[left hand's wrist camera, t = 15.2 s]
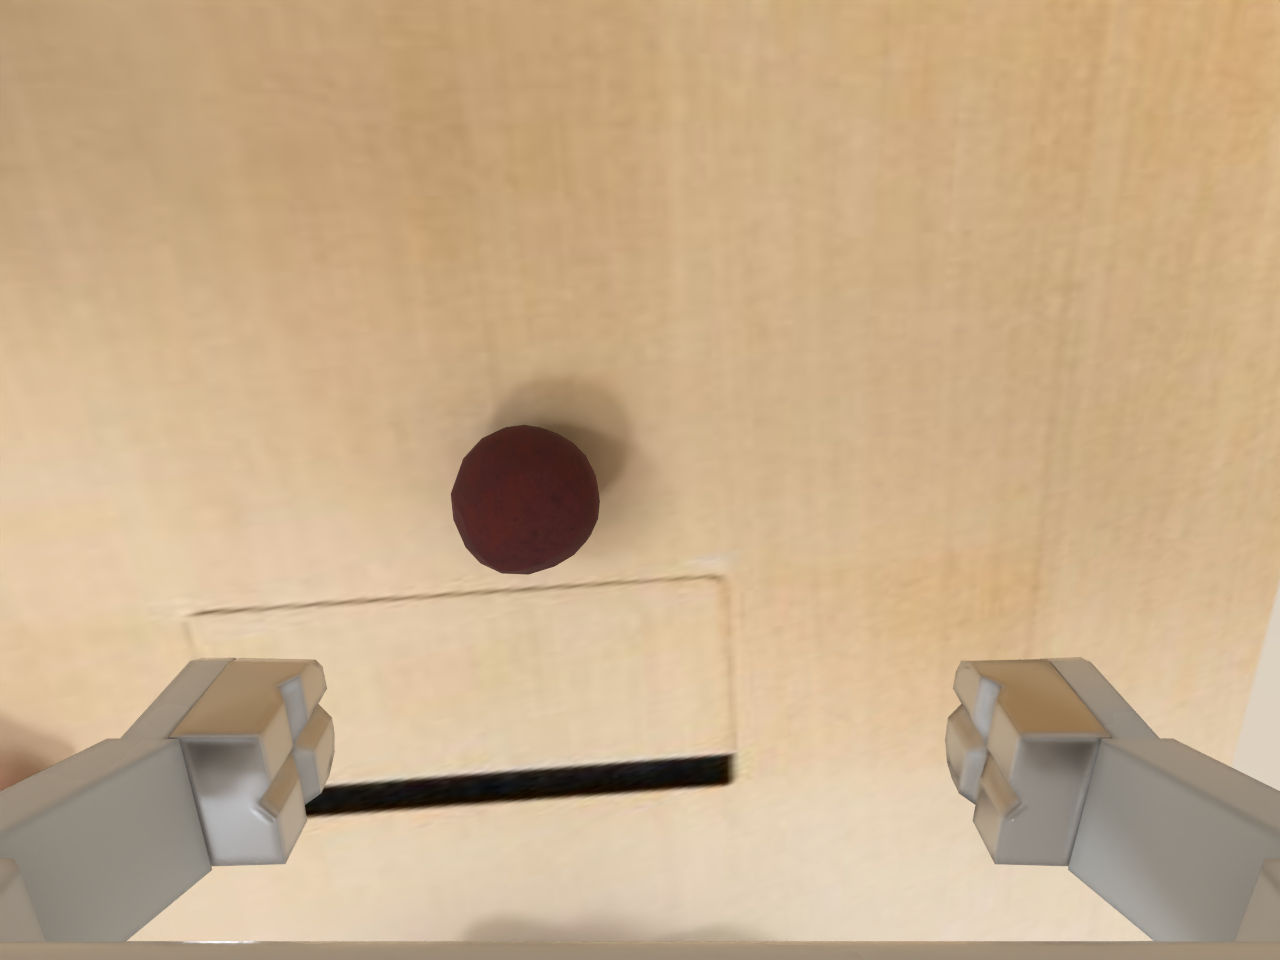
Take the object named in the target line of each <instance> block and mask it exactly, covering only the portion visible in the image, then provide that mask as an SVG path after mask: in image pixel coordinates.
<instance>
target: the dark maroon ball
mask: <svg viewBox="0 0 1280 960" xmlns="http://www.w3.org/2000/svg"><path fill="white" fill-rule="evenodd" d="M451 500H452V509H453V519H454V522H455V524H456V526H457V529H458V531H459V533H460V535H461V538H462V540H463V542H464V544H465V547H466V548H467V549H468V550H469V551H470V553H471V554H472V555H473V556H474V557H475V558H476V559H477V560H478V561H479V562H480V563H481V564H483V565H485V566H487V567H490V568H492V569H494V570H496V571H498V572H500V573H506V574H532V573H535V572H538V571H541V570H544V569H548V568H551V567H554V566H556V565H558V564H559V563H561V562H563V561H564V560H566V559H568V558H569V557H571V556H573V555H574V554H575V553H576V552H577V551H578V550H579V549H580V547H581V546H582V545H583V544H584V543H585V542H586V541H587V539H588V538H589V536H590V535H591V533H592V531H593V529H594V526H595V524H596V522H597V520H598V513H599V502H600V501H599V492H598V487H597V481H596V476H595V474H594V471H593V469H592V467H591V465H590V463H589V461H588V460H587V458H586V456H585V455H584V454H583V453H582V452H581V451H580V450H579V449H578V448H577V447H576V446H575V445H574V444H573V443H572V442H570V441H568V440H567V439H565V438H563V437H562V436H560V435H558V434H556V433H553V432H551V431H548V430H545V429H543V428H539V427H533V426H527V425H521V426H513V427H506V428H503V429H501V430H499V431H497V432H495V433H493V434H490V435H488V436H486V437H484V438H482V439H481V440H480V441H479V442H478V443H477V444H476V446H475V447H474V448H473V449H472V450H471V451H470V452H469V453H468V454H467V455H466V457H465V458H464V459H463V461H462V464H461V467H460V470H459V473H458V475H457V478H456V481H455V484H454V487H453V489H452V492H451Z"/></svg>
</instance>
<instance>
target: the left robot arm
mask: <svg viewBox="0 0 1280 960" xmlns="http://www.w3.org/2000/svg"><path fill="white" fill-rule="evenodd" d="M326 689H327V686H326V681H325V677H324V672H323V667H322V666H321V665H320V664H319V663H318V662H317V661H316V660H306V659H258V658H239V659H236V658H199V659H196V660H192V661H190V662H189V663H188V664H187V665H186V666H185V667H184V668H183V670H182V671H181V672H180V673H179V674H178V675H177V676H176V677H175V678H174V680H173V681H172V682H171V683H170V684H169V685H168V686H167V687H166V688H165V690H164V691H163V692H162V693H161V694H160V695H159V696H158V697H157V698H156V700H155V701H154V702H153V703H152V704H151V705H150V706H149V707H148V708H147V709H146V711H145V712H144V713H143V714H142V715H141V716H140V717H139V718H138V719H137V721H136V722H135V723H134V724H133V725H132V726H131V727H130V728H129V729H128V731H127V732H126V733H125V734H124V735H123V736H122V737H121V738H120V739H106V740H104V741H101V742H99V743H97V744H95V745H93V746H91V747H89V748H87V749H85V750H83V751H81V752H79V753H77V754H75V755H73V756H71V757H69V758H67V759H65V760H63V761H61V762H59V763H57V764H55V765H53V766H51V767H48V768H46V769H44V770H42V771H40V772H38V773H36V774H34V775H32V776H30V777H28V778H26V779H24V780H22V781H20V782H18V783H16V784H14V785H12V786H10V787H8V788H6V789H4V790H2V791H0V960H1280V791H1278V790H1276V789H1274V788H1272V787H1270V786H1268V785H1266V784H1264V783H1262V782H1260V781H1258V780H1256V779H1254V778H1252V777H1250V776H1248V775H1246V774H1244V773H1241V772H1239V771H1237V770H1235V769H1233V768H1231V767H1229V766H1227V765H1225V764H1223V763H1221V762H1219V761H1217V760H1215V759H1213V758H1211V757H1209V756H1207V755H1205V754H1203V753H1201V752H1199V751H1197V750H1195V749H1193V748H1191V747H1189V746H1187V745H1185V744H1183V743H1181V742H1179V741H1176V740H1174V739H1160V738H1159V737H1158V736H1157V735H1156V734H1155V733H1154V732H1153V731H1152V729H1151V728H1150V727H1149V726H1148V725H1147V724H1146V723H1145V722H1144V721H1143V719H1142V718H1141V717H1140V716H1139V715H1138V714H1137V713H1136V712H1135V711H1134V709H1133V708H1132V707H1131V706H1130V705H1129V704H1128V703H1127V702H1126V701H1125V700H1124V698H1123V697H1122V696H1121V695H1120V694H1119V693H1118V692H1117V691H1116V690H1115V688H1114V687H1113V686H1112V685H1111V684H1110V683H1109V682H1108V681H1107V680H1106V678H1105V677H1104V676H1103V675H1102V674H1101V673H1100V672H1099V671H1098V670H1097V668H1096V667H1095V666H1094V665H1093V664H1092V663H1091V662H1090V661H1087V660H1085V659H1083V658H1081V657H1077V658H1048V659H1035V660H981V661H961V663H960V665H959V667H958V669H957V671H956V675H955V680H954V686H953V689H954V691H955V693H956V694H957V696H958V698H959V700H960V701H961V703H962V704H961V705H960V706H959V707H958V708H957V709H956V710H955V711H954V712H953V713H952V714H951V715H950V716H949V717H948V722H947V730H946V738H945V743H946V755H947V763H948V767H949V770H950V774H951V777H952V779H953V782H954V784H955V786H956V788H957V790H958V792H959V794H961V795H962V796H964V797H965V798H967V799H968V800H969V801H971V802H972V803H974V804H975V805H976V806H975V811H974V817H973V822H974V824H975V826H976V828H977V830H978V832H979V834H980V836H981V838H982V840H983V842H984V844H985V845H986V847H987V849H988V851H989V853H990V855H991V857H992V859H993V861H994V863H995V864H1010V865H1046V866H1069V867H1068V870H1069V871H1070V872H1072V873H1073V874H1074V875H1075V876H1076V877H1078V878H1079V879H1080V880H1081V881H1082V882H1084V883H1085V884H1086V885H1087V886H1088V887H1090V888H1091V889H1092V890H1093V891H1094V892H1096V893H1097V894H1098V895H1099V896H1100V897H1102V898H1103V899H1104V900H1105V901H1106V902H1108V903H1109V904H1110V905H1111V906H1113V907H1114V908H1115V909H1116V910H1117V911H1119V912H1120V913H1121V914H1122V915H1123V916H1125V917H1126V918H1127V919H1128V920H1129V921H1131V922H1132V923H1133V924H1134V925H1135V926H1137V927H1138V928H1139V929H1140V930H1141V931H1143V932H1144V933H1145V934H1146V935H1147V936H1149V937H1150V938H1151V939H1152V940H1153V941H634V942H422V941H127V940H128V939H129V938H130V937H132V936H133V935H134V934H135V933H136V932H138V931H139V930H140V929H141V928H142V927H144V926H145V925H146V924H147V923H149V922H150V921H151V920H152V919H153V918H155V917H156V916H157V915H158V914H159V913H161V912H162V911H163V910H164V909H165V908H167V907H168V906H169V905H170V904H171V903H173V902H174V901H175V900H176V899H177V898H179V897H180V896H181V895H182V894H183V893H185V892H186V891H187V890H188V889H189V888H191V887H192V886H193V885H194V884H196V883H197V882H198V881H199V880H200V879H202V878H203V877H204V876H205V875H206V874H208V873H209V872H210V871H211V870H212V868H211V866H233V865H268V864H285V863H286V861H287V859H288V857H289V855H290V853H291V851H292V850H293V848H294V846H295V844H296V842H297V840H298V838H299V836H300V834H301V832H302V830H303V828H304V826H305V824H306V822H307V817H306V811H305V806H304V805H305V804H306V803H308V802H309V801H311V800H312V799H313V798H315V797H316V796H318V795H319V794H321V792H322V790H323V788H324V786H325V784H326V781H327V779H328V777H329V774H330V770H331V765H332V761H333V756H334V728H333V722H332V717H331V716H330V715H329V714H328V713H327V712H326V711H325V710H324V709H323V708H322V707H321V706H320V705H319V704H318V703H319V701H320V700H321V698H322V696H323V694H324V693H325V691H326Z"/></svg>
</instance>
